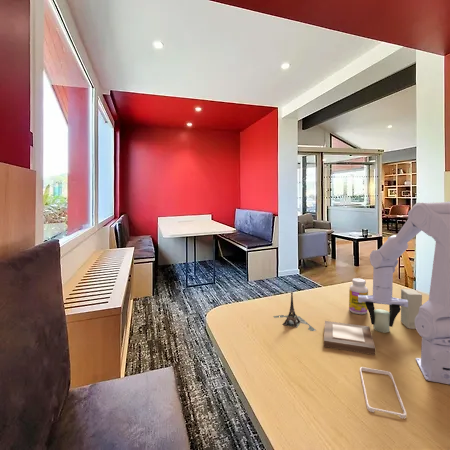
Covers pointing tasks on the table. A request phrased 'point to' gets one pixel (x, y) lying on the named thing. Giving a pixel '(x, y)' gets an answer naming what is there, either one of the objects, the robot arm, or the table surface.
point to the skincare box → (410, 307)
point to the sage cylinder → (381, 320)
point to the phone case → (395, 390)
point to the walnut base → (348, 337)
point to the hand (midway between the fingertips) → (381, 324)
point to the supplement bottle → (354, 291)
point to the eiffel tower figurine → (294, 318)
